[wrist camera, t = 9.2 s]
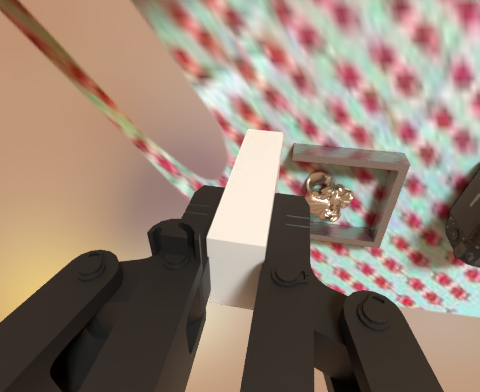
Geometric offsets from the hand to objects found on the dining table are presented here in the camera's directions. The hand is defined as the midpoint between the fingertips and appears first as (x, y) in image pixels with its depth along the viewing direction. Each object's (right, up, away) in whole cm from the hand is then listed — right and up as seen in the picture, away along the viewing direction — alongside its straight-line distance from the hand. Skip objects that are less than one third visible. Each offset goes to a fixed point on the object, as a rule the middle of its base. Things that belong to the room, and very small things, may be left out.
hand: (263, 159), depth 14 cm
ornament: (+12, -1, +32) cm, 34 cm away
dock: (+13, -1, +31) cm, 34 cm away
